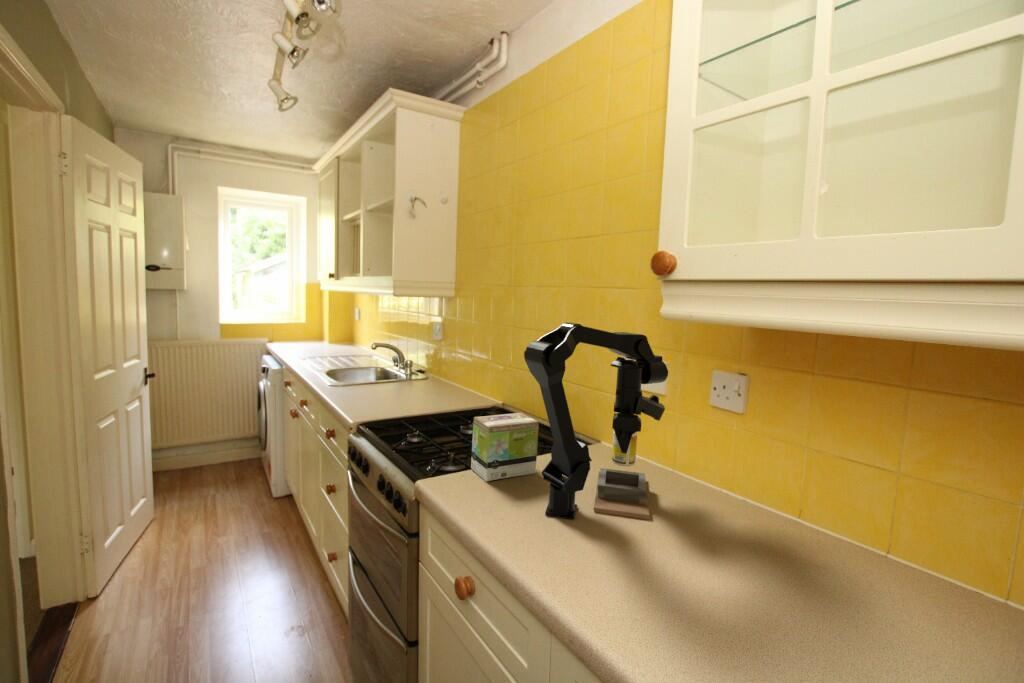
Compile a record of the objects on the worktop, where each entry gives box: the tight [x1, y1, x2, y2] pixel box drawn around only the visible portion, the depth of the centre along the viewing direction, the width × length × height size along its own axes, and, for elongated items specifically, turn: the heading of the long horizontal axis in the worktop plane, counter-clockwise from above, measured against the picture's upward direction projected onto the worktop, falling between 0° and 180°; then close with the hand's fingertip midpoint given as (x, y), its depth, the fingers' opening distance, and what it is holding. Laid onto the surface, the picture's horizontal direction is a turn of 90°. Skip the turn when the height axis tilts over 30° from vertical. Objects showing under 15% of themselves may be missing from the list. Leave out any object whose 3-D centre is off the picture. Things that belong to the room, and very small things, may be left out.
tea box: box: [470, 412, 540, 483], centre depth 125 cm, size 15×10×15 cm
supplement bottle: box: [611, 430, 638, 468], centre depth 113 cm, size 6×6×10 cm
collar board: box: [593, 467, 650, 521], centre depth 114 cm, size 22×12×4 cm, turn 167°
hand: (624, 449), depth 113 cm, fingers closed on supplement bottle, 6 cm apart
